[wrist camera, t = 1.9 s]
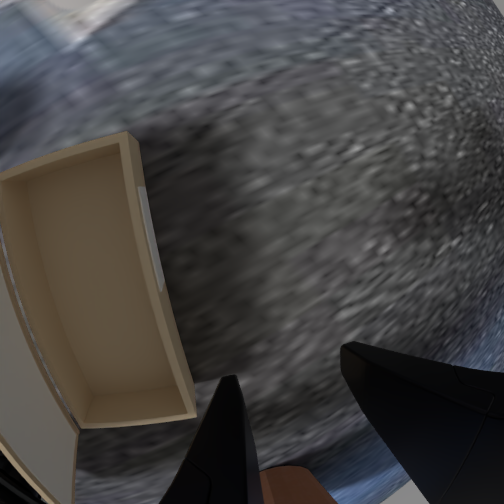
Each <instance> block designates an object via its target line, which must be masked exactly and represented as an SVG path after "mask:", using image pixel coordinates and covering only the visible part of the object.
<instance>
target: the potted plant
mask: <svg viewBox="0 0 504 504" xmlns="http://www.w3.org/2000/svg"><path fill="white" fill-rule="evenodd" d="M259 473H260V480H261V486H262V493H263V499H264V504H338V503H337V502H336V501H335V500H334V499H333V497H332V496H331V495H330V494H329V493H328V492H327V491H326V490H325V488H324V487H323V486H322V485H321V484H320V483H319V482H318V480H317V479H316V478H315V477H314V476H313V475H312V473H311V472H310V471H309V470H308V469H306V468H303V467H301V466H280V467H274V468H271V469H267V470H264V471H261V472H259Z"/></svg>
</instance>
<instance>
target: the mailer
mask: <svg viewBox="0 0 504 504" xmlns="http://www.w3.org/2000/svg"><path fill="white" fill-rule="evenodd" d="M0 222H1V228H2V233H3V237H4V242H5V246H6V251H7V255H8V259H9V263H10V266H11V270H12V274H13V277H14V281H15V284H16V287H17V290H18V294H19V297H20V300H21V303H22V306H23V308H24V311H25V314H26V317H27V320H28V322H29V325H30V327H31V330H32V333H33V335H34V337H35V340H36V342H37V345H38V347H39V349H40V352H41V354H42V356H43V358H44V361H45V363H46V365H47V367H48V369H49V371H50V373H51V375H52V377H53V379H54V381H55V383H56V385H57V387H58V389H59V391H60V393H61V395H62V396H63V398H64V400H65V402H66V404H67V406H68V407H69V409H70V411H71V412H72V414H73V416H74V418H75V419H76V421H77V422H78V424H79V426H80V427H81V429H84V428H108V427H123V426H135V425H145V424H154V423H162V422H170V421H177V420H183V419H190V418H196V417H197V411H196V399H195V387H194V382H193V379H192V375H191V372H190V369H189V366H188V363H187V359H186V356H185V353H184V349H183V346H182V343H181V339H180V336H179V332H178V329H177V325H176V321H175V318H174V314H173V310H172V306H171V303H170V299H169V295H168V291H167V287H166V283H165V278H164V274H163V270H162V266H161V261H160V257H159V252H158V248H157V243H156V238H155V233H154V229H153V224H152V218H151V213H150V208H149V202H148V197H147V191H146V185H145V179H144V173H143V167H142V160H141V153H140V146H139V142H138V141H137V140H136V139H135V138H134V137H133V136H132V135H131V134H130V133H129V132H127V131H125V132H121V133H117V134H113V135H110V136H106V137H102V138H98V139H95V140H91V141H88V142H85V143H81V144H78V145H75V146H71V147H68V148H65V149H62V150H59V151H56V152H53V153H50V154H47V155H45V156H42V157H39V158H36V159H34V160H31V161H28V162H26V163H23V164H21V165H18V166H16V167H13V168H11V169H8V170H6V171H3V172H1V173H0Z"/></svg>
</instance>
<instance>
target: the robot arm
mask: <svg viewBox="0 0 504 504" xmlns="http://www.w3.org/2000/svg"><path fill="white" fill-rule="evenodd" d="M340 366H341V372H342V375H343V377H344V379H345V380H346V382H347V384H348V386H349V388H350V390H351V392H352V393H353V395H354V397H355V399H356V401H357V403H358V404H359V406H360V408H361V410H362V411H363V413H364V414H365V416H366V417H367V419H368V420H369V421H370V423H371V424H372V426H373V427H374V428H375V430H376V431H377V432H378V434H379V435H380V437H381V438H382V439H383V441H384V442H385V443H386V445H387V446H388V448H389V449H390V450H391V452H392V453H393V454H394V456H395V457H396V459H397V460H398V461H399V463H400V464H401V465H402V467H403V468H404V470H405V471H406V472H407V474H408V475H409V476H410V478H411V479H412V481H413V482H414V483H415V485H416V486H417V487H418V489H419V490H420V491H421V493H422V494H423V496H424V497H425V498H426V500H427V501H428V502H429V504H504V373H502V372H492V371H483V370H477V369H471V368H465V367H461V366H456V365H454V366H452V365H451V364H446V363H442V362H437V361H432V360H428V359H424V358H419V357H415V356H411V355H407V354H402V353H398V352H394V351H390V350H386V349H382V348H378V347H374V346H371V345H367V344H363V343H359V342H355V341H352V342H349V343H346V344H343V345H342V346H341V348H340ZM41 497H42V496H41V495H40V494H39V493H38V492H37V491H36V490H35V489H34V488H33V487H32V486H31V485H30V484H29V483H28V482H27V481H26V480H25V478H24V477H23V476H22V475H21V474H20V473H19V472H18V471H17V469H16V468H15V467H14V466H13V465H12V464H11V462H10V461H9V460H8V459H7V457H6V456H5V455H4V454H3V452H2V451H1V450H0V504H47V503H45V502H43V501H42V500H41ZM159 504H264V499H263V493H262V486H261V480H260V473H259V466H258V459H257V453H256V447H255V443H254V439H253V435H252V431H251V427H250V423H249V419H248V414H247V410H246V406H245V402H244V398H243V394H242V391H241V388H240V385H239V382H238V378H237V376H236V375H229V376H224V377H222V378H221V379H220V381H219V384H218V386H217V388H216V390H215V393H214V395H213V397H212V399H211V401H210V404H209V406H208V408H207V410H206V412H205V415H204V417H203V419H202V421H201V423H200V426H199V428H198V430H197V432H196V434H195V436H194V439H193V441H192V443H191V445H190V447H189V449H188V451H187V454H186V456H185V459H184V460H183V462H182V464H181V466H180V468H179V470H178V472H177V474H176V476H175V478H174V480H173V482H172V484H171V485H170V487H169V488H168V490H167V492H166V493H165V495H164V496H163V498H162V499H161V501H160V502H159Z"/></svg>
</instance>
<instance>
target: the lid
mask: <svg viewBox="0 0 504 504" xmlns="http://www.w3.org/2000/svg"><path fill="white" fill-rule="evenodd" d="M79 434H80V431H79V430H78V428H77V426H76V425H75V423H74V421H73V420H72V418H71V417H70V415H69V413H68V411H67V410H66V408H65V406H64V405H63V403H62V401H61V399H60V397H59V396H58V394H57V392H56V390H55V388H54V386H53V384H52V382H51V380H50V378H49V376H48V374H47V372H46V370H45V368H44V366H43V364H42V362H41V360H40V357H39V355H38V353H37V351H36V348H35V346H34V344H33V341H32V339H31V336H30V334H29V332H28V329H27V326H26V324H25V321H24V318H23V316H22V313H21V310H20V307H19V304H18V302H17V299H16V295H15V292H14V289H13V286H12V283H11V279H10V276H9V272H8V269H7V265H6V261H5V257H4V253H3V249H2V245H1V240H0V450H1V451H2V452H3V454H4V455H5V456H6V457H7V459H8V460H9V461H10V462H11V464H12V465H13V466H14V467H15V468H16V469H17V471H18V472H19V473H20V474H21V475H22V476H23V477H24V478H25V480H26V481H27V482H28V483H29V484H30V485H31V486H32V487H33V488H34V489H35V490H36V491H37V492H38V493H39V494H40V495H41V496H42V497H43V498H44V499H45V500H46V501H47V502H48V503H49V504H75V472H76V457H77V445H78V435H79Z"/></svg>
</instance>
